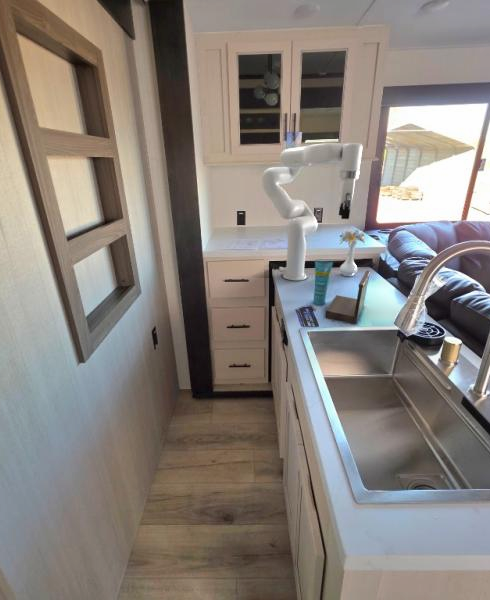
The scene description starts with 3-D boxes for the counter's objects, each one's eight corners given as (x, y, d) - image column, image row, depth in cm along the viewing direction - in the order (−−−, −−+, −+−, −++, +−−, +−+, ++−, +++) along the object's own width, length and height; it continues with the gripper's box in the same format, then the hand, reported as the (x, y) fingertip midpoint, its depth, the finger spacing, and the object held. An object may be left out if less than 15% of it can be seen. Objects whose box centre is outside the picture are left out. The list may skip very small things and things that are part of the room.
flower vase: (353, 269, 182) (359, 225, 172) (364, 280, 165) (372, 232, 155) (330, 269, 183) (336, 225, 172) (339, 280, 166) (345, 232, 156)
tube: (310, 303, 138) (314, 261, 130) (311, 299, 142) (315, 258, 135) (327, 305, 136) (332, 263, 128) (328, 301, 140) (333, 260, 133)
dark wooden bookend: (325, 317, 126) (329, 279, 120) (335, 301, 141) (340, 266, 134) (356, 324, 121) (363, 285, 114) (364, 306, 135) (370, 271, 129)
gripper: (337, 174, 141) (333, 214, 148) (342, 176, 125) (336, 220, 132) (355, 175, 139) (349, 214, 146) (361, 176, 124) (355, 220, 131)
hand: (343, 217), depth 139 cm, fingers open, 9 cm apart
